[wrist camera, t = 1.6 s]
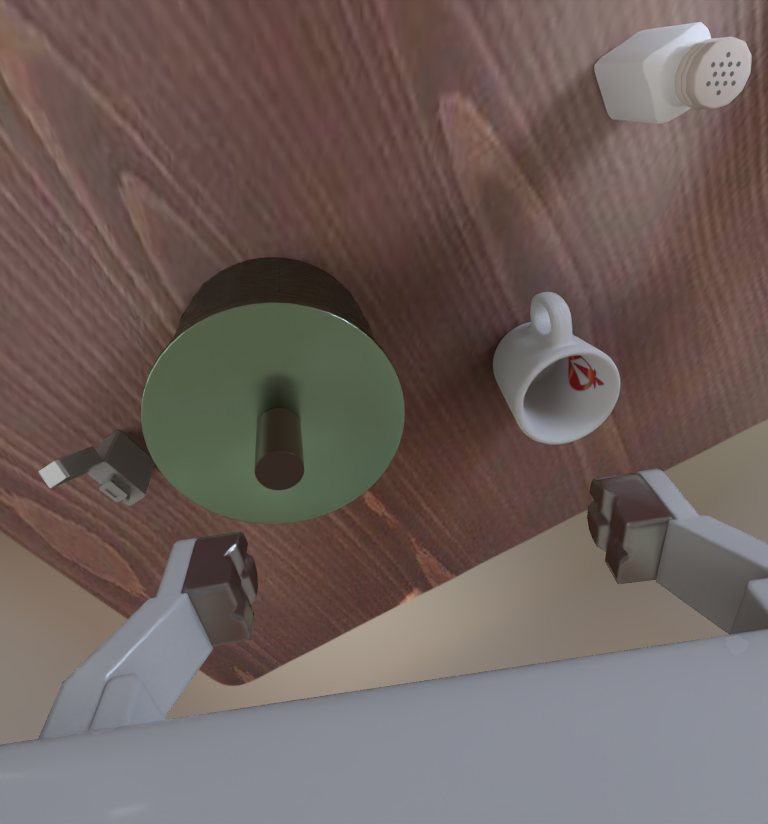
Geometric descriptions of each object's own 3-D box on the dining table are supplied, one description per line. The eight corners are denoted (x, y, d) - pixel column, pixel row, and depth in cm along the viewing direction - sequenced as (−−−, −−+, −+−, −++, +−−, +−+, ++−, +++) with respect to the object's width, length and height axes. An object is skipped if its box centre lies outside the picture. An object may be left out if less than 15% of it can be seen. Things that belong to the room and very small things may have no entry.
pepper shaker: (606, 122, 38) (696, 133, 30) (587, 63, 36) (678, 58, 28) (659, 87, 37) (765, 89, 29) (643, 25, 35) (753, 8, 27)
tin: (207, 441, 45) (191, 528, 36) (155, 271, 38) (118, 330, 29) (376, 413, 47) (401, 490, 38) (358, 244, 39) (383, 292, 30)
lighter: (156, 462, 45) (136, 529, 39) (140, 473, 46) (117, 541, 39) (89, 403, 42) (53, 464, 35) (71, 414, 42) (32, 478, 35)
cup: (475, 285, 42) (514, 324, 36) (573, 265, 43) (630, 299, 36) (483, 403, 48) (517, 456, 41) (569, 384, 49) (617, 433, 42)
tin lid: (185, 530, 37) (172, 597, 32) (105, 316, 29) (72, 363, 24) (408, 490, 39) (427, 548, 34) (391, 276, 31) (413, 313, 26)
